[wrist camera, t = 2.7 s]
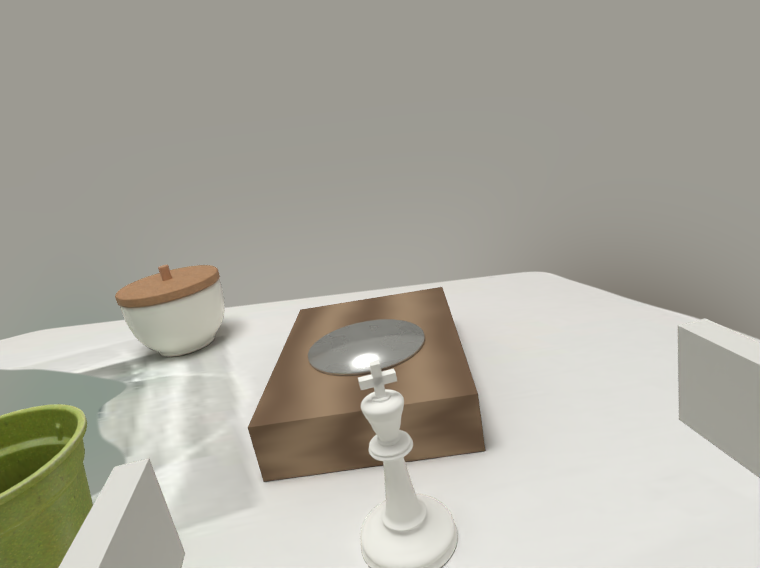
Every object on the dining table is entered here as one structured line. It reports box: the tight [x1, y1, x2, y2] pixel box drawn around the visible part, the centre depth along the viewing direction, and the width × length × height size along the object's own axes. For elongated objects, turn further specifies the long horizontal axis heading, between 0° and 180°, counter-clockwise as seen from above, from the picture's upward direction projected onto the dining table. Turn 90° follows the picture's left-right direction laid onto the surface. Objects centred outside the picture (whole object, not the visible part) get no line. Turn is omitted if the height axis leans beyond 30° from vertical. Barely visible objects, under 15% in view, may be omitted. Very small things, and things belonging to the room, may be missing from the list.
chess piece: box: [358, 360, 458, 568], centre depth 24 cm, size 5×5×10 cm
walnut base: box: [248, 287, 485, 481], centre depth 40 cm, size 14×20×4 cm
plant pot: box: [0, 404, 93, 568], centre depth 25 cm, size 9×9×9 cm
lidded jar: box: [115, 265, 224, 357], centre depth 56 cm, size 11×11×9 cm
